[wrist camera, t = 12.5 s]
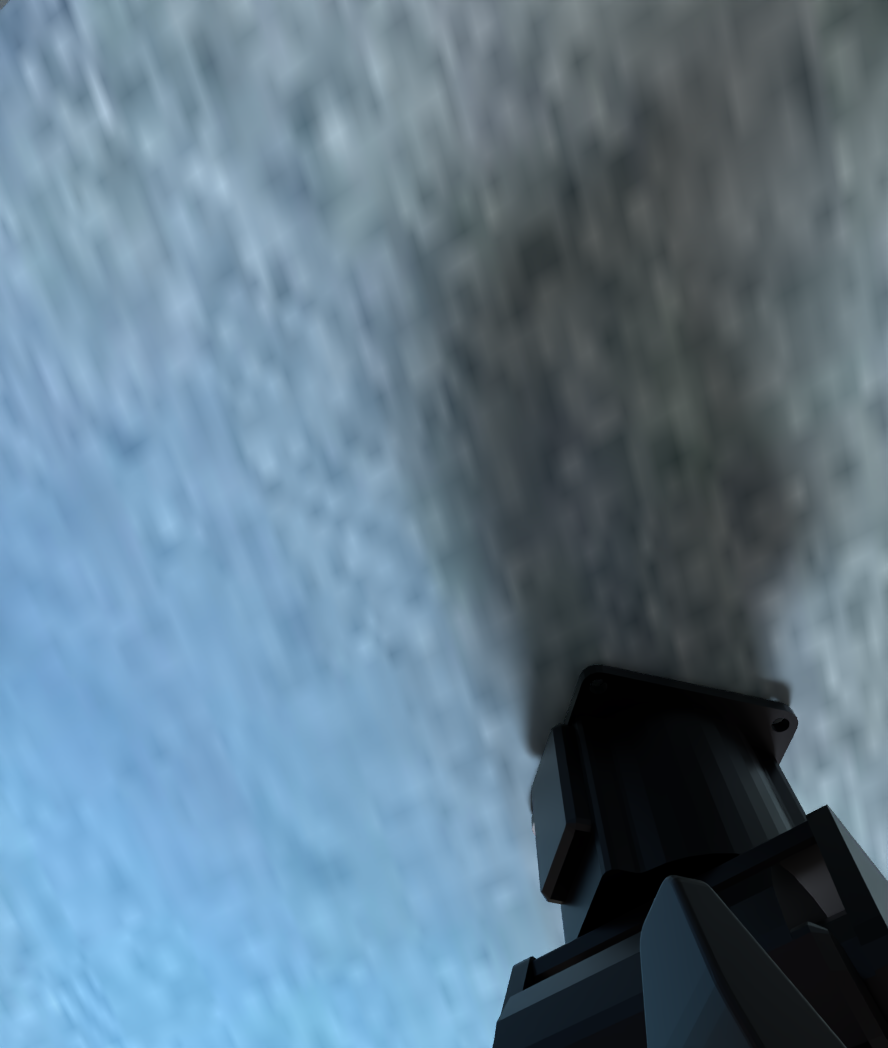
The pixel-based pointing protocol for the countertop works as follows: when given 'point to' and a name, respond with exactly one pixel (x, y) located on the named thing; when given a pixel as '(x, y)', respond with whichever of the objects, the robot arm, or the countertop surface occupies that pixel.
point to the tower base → (3, 3)
